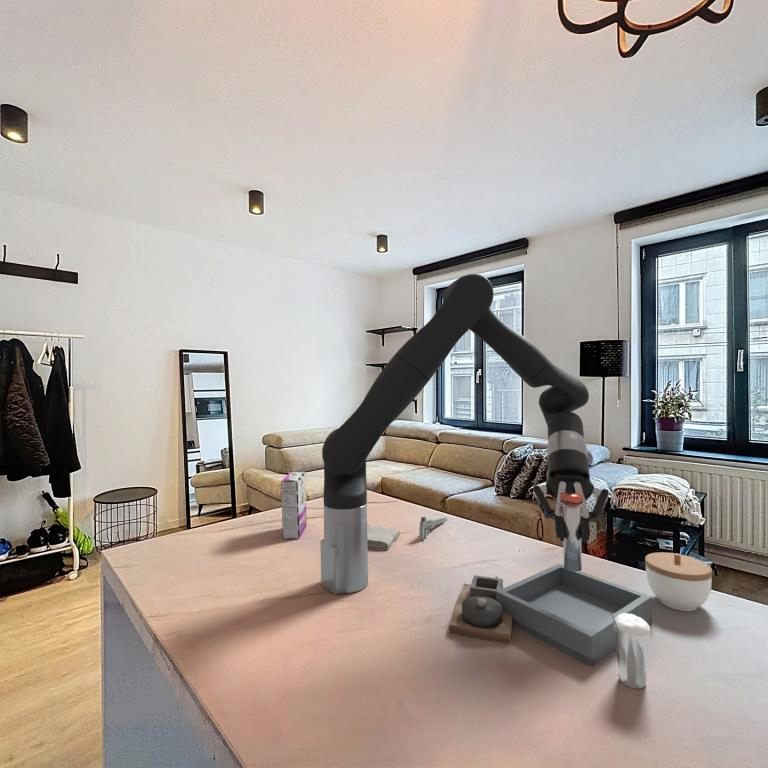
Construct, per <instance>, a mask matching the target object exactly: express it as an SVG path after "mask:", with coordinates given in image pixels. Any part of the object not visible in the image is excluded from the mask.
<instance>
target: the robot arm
mask: <svg viewBox="0 0 768 768" xmlns="http://www.w3.org/2000/svg"><path fill="white" fill-rule="evenodd" d="M442 299H443V300H442V304H441V305H440V306H439V308H438V309H437V311H436V313H435V314H434V315H433V316H432V317H431V319H429V321H428V322H427V323H426V324H425V325H423V326H422V327H421V328H420V329H419V330H418V331H417V332H416V333H414V335H412V336H411V337H410V338H409V339H408V340H407V341H406V342H405V343H404V344H403V345H402V346H401V347H400V348H399V349H398V350H397V351H396V352H395V354H393V356H392V357H391V358H390V359H389V361H388V362H387V363H386V365H385V366H384V367H383V368H382V370H381V371H380V372H379V374H378V375H377V377H376V378H375V380H374V381H373V383H372V385H371V387H370V388H369V390H368V392H367V394H366V395H365V397H364V399H363V400H362V402H361V403H360V405H359V406H358V407H357V408H356V409H355V411H354V412H353V413H352V414H351V415H350V416H349V417H348V418H347V420H346V421H344V423H342V424H341V426H340V427H339V428H336V429H334V430H332V431H330V433H329V434H328V435H327V437H326V438H325V440H324V442H323V445H322V450H321V456H322V460H323V461H322V462H323V524H324V525H323V533H324V534H323V538H324V539H320V543H319V544H320V585H321V586H323V587H324V588H325V589H327V590H328V591H329V592H331V594H333V595H338V594H351V593H356V592H359V591H362V590H364V589H365V588H366V587H367V586H368V584H369V564H368V563H369V556H368V555H369V554H368V552H369V551H368V549H369V548H368V544H367V525H368V490H367V489H368V488H367V487H368V485H367V458H368V457H369V455H370V453H371V452H372V451H373V448H374V447H375V446H376V444H377V443H378V442H379V439H380V438H381V437H382V435H383V434H384V433H385V432H386V430H387V429H388V428H389V426H390V425H392V423H393V422H395V420H396V419H397V418H398V417H399V416H400V415H401V414H402V413H403V412H404V411H405V409H406V408H408V407H409V405H410V404H411V403H412V402H413V401H414V399H416V398H417V396H418V395H419V394H420V393H421V392H422V391H423V389H424V388H425V387H426V385H427V384H428V382H430V381H431V379H432V377H434V374H435V373H436V372H437V371H438V370H439V368H440V367H441V366H442V364H443V363H444V361H445V360H446V359H447V357H448V356H449V354H450V353H451V351H452V349H453V348H454V347H455V346H456V344H457V343H458V342H459V341H460V340H461V338H462V337H463V336H464V335H465V334H466V333H467V332H468V331H469V330H470V332H472V333H473V334H475V335H476V336H477V337H478V338H480V339H481V341H482V342H484V343H485V344H486V345H488V347H490V348H491V349H492V350H493V351H494V352H495V354H498V356H499V357H500V358H501V359H502V360H503V361H504V362H505V363H506V364H507V365H508V366H509V367H510V368H511V369H512V370H513V371H514V372H515V373H516V374H517V375H518V376H519V378H521V380H522V381H524V383H526V385H528V386H529V387H531V388H533V389H534V388H541V387H544V386H550V387H548V388H547V389H545V390H544V391H542V392H541V393H540V395H539V399H538V405H539V408H540V410H541V413H542V415H543V418H544V420H545V424H546V426H547V448H546V451H547V453H546V454H547V455H546V458H547V480H546V482H545V484H544V485H541V486H540V485H538V484H535V485H533V488H532V491H533V492H532V494H533V497H534V499H535V500H536V502H537V505H538V506H539V508H540V510H541V512H542V514H543V516H544V517H545V518H546V519H551V520H553V521H554V529H555V530H554V531H555V532H554V533H555V537H556V538H558V539H559V541H560V542H563V541H564V521H563V502H561V501H560V493H562V492H576V493H580V494H582V495H583V503H581V544H587V541H589V540H590V537H591V529H590V523H592V522H593V523H598V522H599V520H600V518H601V516H602V513H603V511H604V509H605V507H606V504H607V501H608V499H609V494H610V491H609V490H608V489H607V488H603V489H602V490H601V489H599V488H596V487H595V486H594V484H593V483H592V480H591V476H590V475H591V474H590V467H589V459H588V458H589V457H588V449H587V444H586V441H585V433H584V424H583V420H582V419H581V417H580V415H578V414H577V413H575V412H574V411H576V410H578V409H581V408H582V407H584V406H586V404H587V403H588V402H589V397H590V394H589V390H588V388H587V386H586V385H585V384H584V382H582V381H581V380H580V379H579V378H578V377H577V376H574V375H573V374H571V373H569V372H568V371H565V370H564V369H562V368H561V367H559V366H557V365H555V364H554V363H552V361H551V360H550V359H548V358H547V356H546V355H545V354H544V353H543V352H542V351H541V350H540V348H538V347H537V346H536V345H535V344H534V343H533V342H531V341H530V340H529V339H528V338H526V337H525V336H524V335H522V334H521V333H519V332H517V331H516V330H515V329H513V328H512V327H511V326H509V325H508V324H506V323H505V322H504V321H503V320H502V319H501V318H500V317H498V316H497V314H495V313H494V311H493V310H492V308H491V305H493V300H494V288H493V285H492V283H491V281H490V280H489V279H488V277H486V276H484V275H482V274H478V273H470V274H465V275H463V276H460V277H459V278H457V279H456V280H454V281H452V283H451V284H449V285H448V286H447V287H446V289H445V290H444V292H443V296H442ZM547 493H548V494H549V495H550V496H551V497H552V499H553V500H554V501H555V503H556V504H555V509H553V508H552V507H551V505H550V503H549V502H548V500H547V498H546V497H547ZM592 495H593V496H594V501H596V503H595V504H594V507H593V509H592V511H589V510H588V507H587V501H588V499H590V497H591V496H592Z"/></svg>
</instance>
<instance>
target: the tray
mask: <svg viewBox="0 0 768 768" xmlns="http://www.w3.org/2000/svg"><path fill="white" fill-rule="evenodd" d="M652 598H653V596H651V595H649V594H648V595H647V594H645V593H642V592H640V591H637V590H633V589H631V588H628V587H625V586H623V585H620V584H617V583H615V582H612V581H609V580H606V579H603V578H600V577H598V576H594V575H592V574H589V573H587V572H585V571H582V570H581V571H570V570H567V569H565V568H564V564H561V563H558V564H555V565H552V566H551V567H549V568H547V569H544V570H541V571H539V572H536V573H535V574H532V575H531V576H528V577H526V578H523V579H522V580H520V581H516V582H515V583H513V584H510V585H508V586H506V587H504V588H503V589H501V590H499V591H496V601H498V602H499V603H500V604H501V605H502V608H503V611H504V612H506V613H508V614H509V615H511V616H512V626H514V627H517V628H518V629H520V630H522V631H524V632H526V633H528V634H530V635H532V636H533V637H536V638H537V639H539V640H541V641H543V642H545V643H547V644H548V645H551V646H552V647H554V648H556V649H558V650H560V651H562V652H564V653H565V654H568V655H569V656H571V657H573V658H575V659H576V660H577V659H578V660H579V661H581V662H583V663H585V664H586V665H588V666H591V667H593V666H594V665H596V664H597V663H598V662H600V661H601V660H603V659H604V658H605V657H607V656H608V655H609V654H611V653H613V651H615V650H617V647H616V637H615V629H614V620H613V618H612V616H611V613H612V615H613V617H614V619H615V618H616V617H617V616H618V615H619V614H621V613H627V614H633V615H635V616H637V617H640V618H642V619H643V620H644V621H646V622H647V624H648V625H649V626H650V624H651V623H653V605H652V603H653V599H652ZM610 612H611V613H610Z"/></svg>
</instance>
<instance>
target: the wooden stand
mask: <svg viewBox="0 0 768 768" xmlns="http://www.w3.org/2000/svg"><path fill="white" fill-rule="evenodd" d="M503 587H504V581H503V578H497V577H491V576H490V577H489V576H483V575H475V574H474V575H473V577H472V581H471V583H470V584H468V583H463V586H462V588H461V591H460V594H459V596H458V599H457V602H456V606H455V609H454V611H453V614H452V617H451V620H450V622H449V634H451V635H456V636H457V635H458V636H463V637H468V638H469V637H470V638H474V639H481V640H486V641H493V642H498V643H504V644H511V643H512V641H511V640H512V633H513V631H512V630H513V624H512V616H511V615H509V614H508V613H506V612H504V611H503V608H502V605H501V604H500V603H499V602H498V601H496V591H499V590H501V589H503Z"/></svg>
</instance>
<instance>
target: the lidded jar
mask: <svg viewBox="0 0 768 768" xmlns="http://www.w3.org/2000/svg"><path fill="white" fill-rule="evenodd" d="M644 563H645V574H646V580H647V582H648V586H649V588H650V590H651V592H652V593H653V595H655V597H657V599H658V600H659V602H660V603H661V604H663V606H666V607H668V608H670V609H673V610H676V611H682V612H694V611H696V610H697V609H698V608H699V607H701V606H702V605H704V604H705V603H706V602H707V601H708V598H709V596H710V593H711V591H712V582H713V581H712V580H713V579H712V577H713V568H712V567H711V566H710V565H709V563H707V562H704V561H702V560H700V559H699V558H696V557H695V558H694V557H693V556H689V555H684V554H680V553H674V552H664V551H663V552H662V551H661V552H660V551H659V552H651V553H648V554H647V555H646V556H645V558H644Z"/></svg>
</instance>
